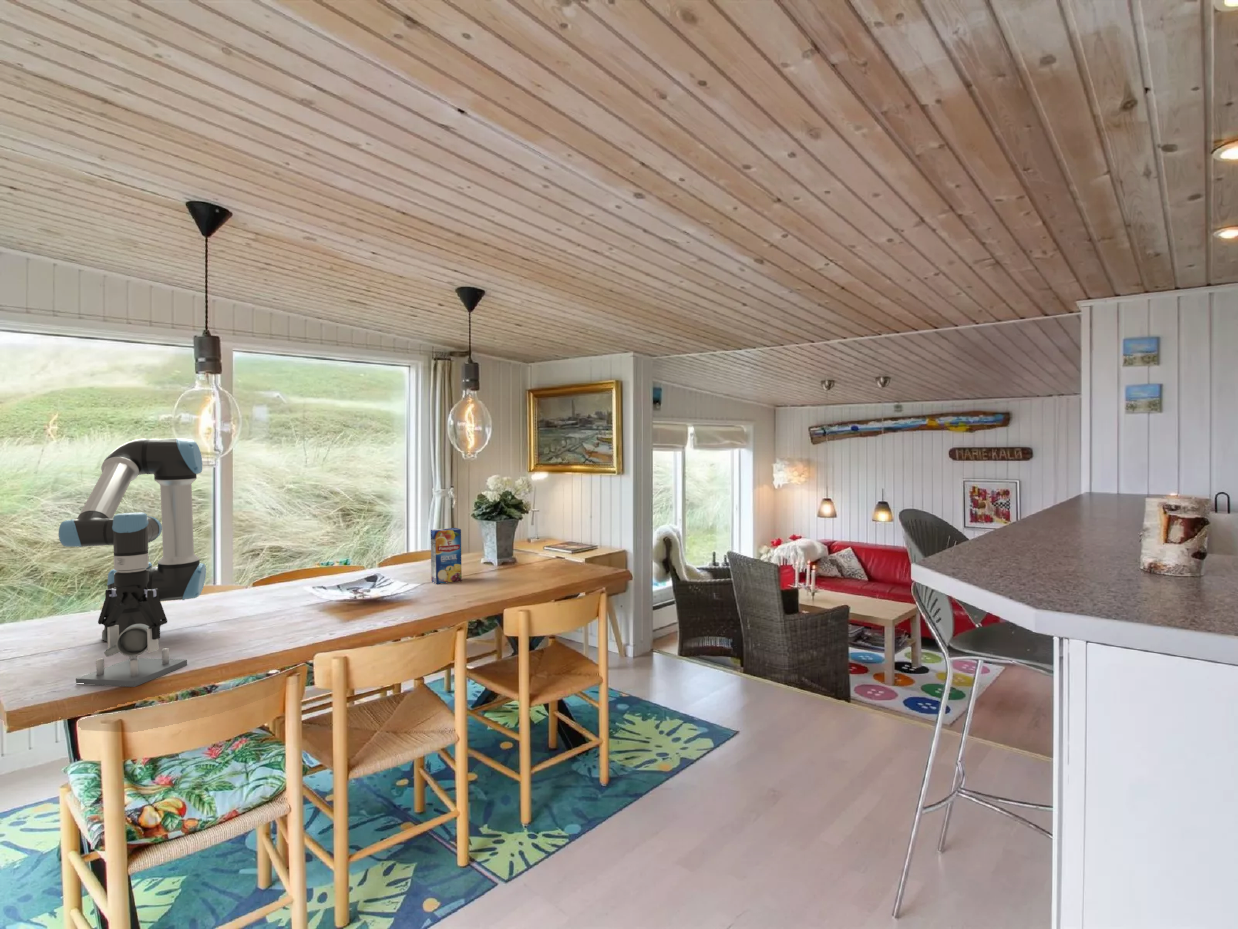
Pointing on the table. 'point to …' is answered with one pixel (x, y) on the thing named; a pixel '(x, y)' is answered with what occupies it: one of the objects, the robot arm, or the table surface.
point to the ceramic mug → (130, 641)
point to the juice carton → (446, 555)
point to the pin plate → (124, 672)
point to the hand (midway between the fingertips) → (133, 650)
